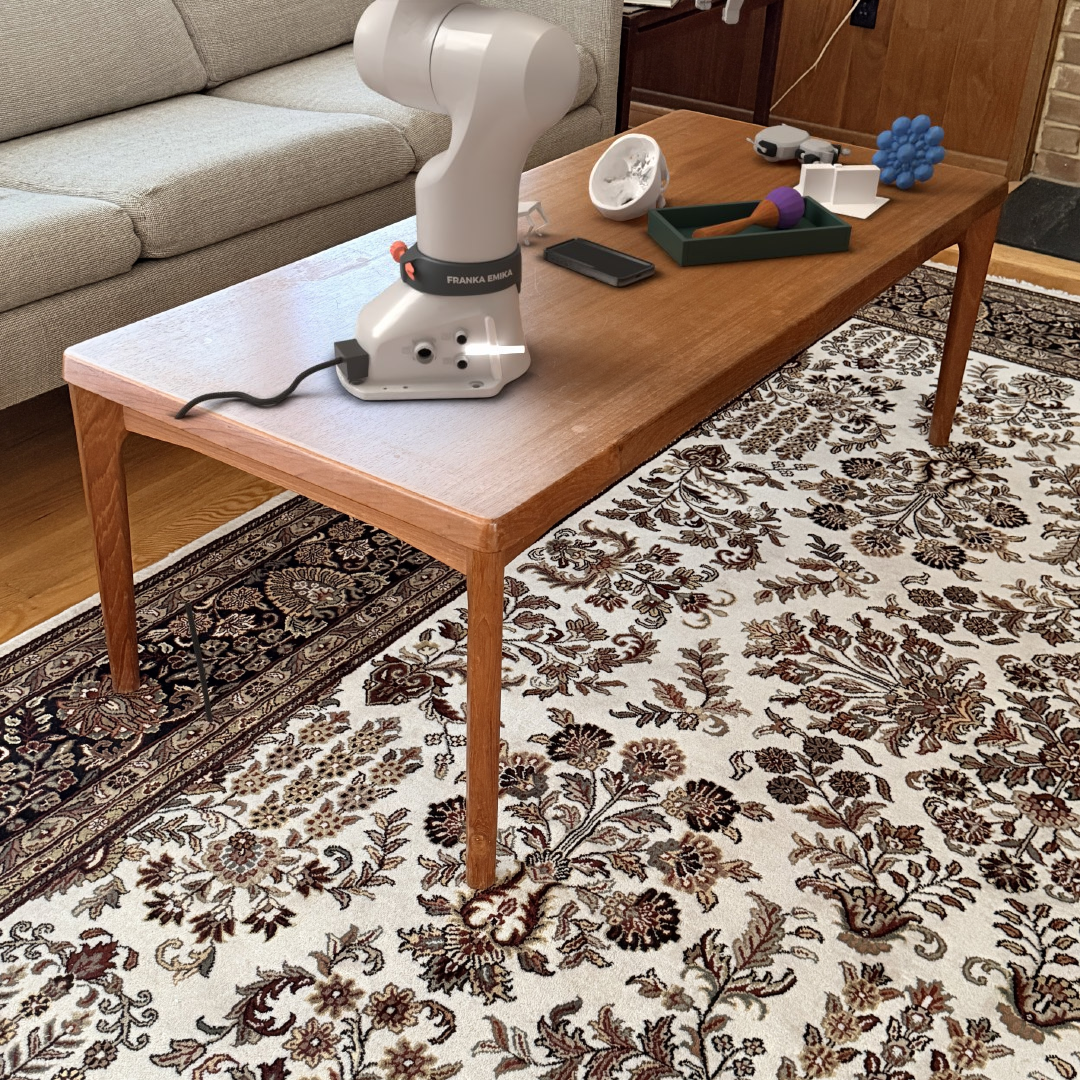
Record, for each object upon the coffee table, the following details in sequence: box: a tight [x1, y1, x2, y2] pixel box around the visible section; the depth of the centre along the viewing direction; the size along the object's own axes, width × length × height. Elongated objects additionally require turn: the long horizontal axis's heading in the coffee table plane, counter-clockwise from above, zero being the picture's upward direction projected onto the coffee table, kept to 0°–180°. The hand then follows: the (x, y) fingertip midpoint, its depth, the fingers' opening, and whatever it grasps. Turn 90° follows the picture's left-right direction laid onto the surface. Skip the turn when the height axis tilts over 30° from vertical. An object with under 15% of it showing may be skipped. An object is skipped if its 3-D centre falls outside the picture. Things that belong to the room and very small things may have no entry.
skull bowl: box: [588, 133, 671, 222], centre depth 186 cm, size 10×14×12 cm
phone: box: [542, 237, 656, 288], centre depth 168 cm, size 8×1×15 cm
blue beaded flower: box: [871, 114, 947, 190], centre depth 196 cm, size 12×7×12 cm, turn 54°
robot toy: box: [745, 123, 852, 166], centre depth 208 cm, size 12×4×15 cm
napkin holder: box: [792, 163, 891, 220], centre depth 192 cm, size 15×11×6 cm
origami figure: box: [518, 200, 551, 246], centre depth 174 cm, size 12×8×5 cm
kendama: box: [692, 185, 805, 238], centre depth 176 cm, size 6×6×20 cm
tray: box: [646, 196, 853, 267], centre depth 176 cm, size 26×14×4 cm, turn 106°
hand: (716, 15), depth 167 cm, fingers open, 8 cm apart
